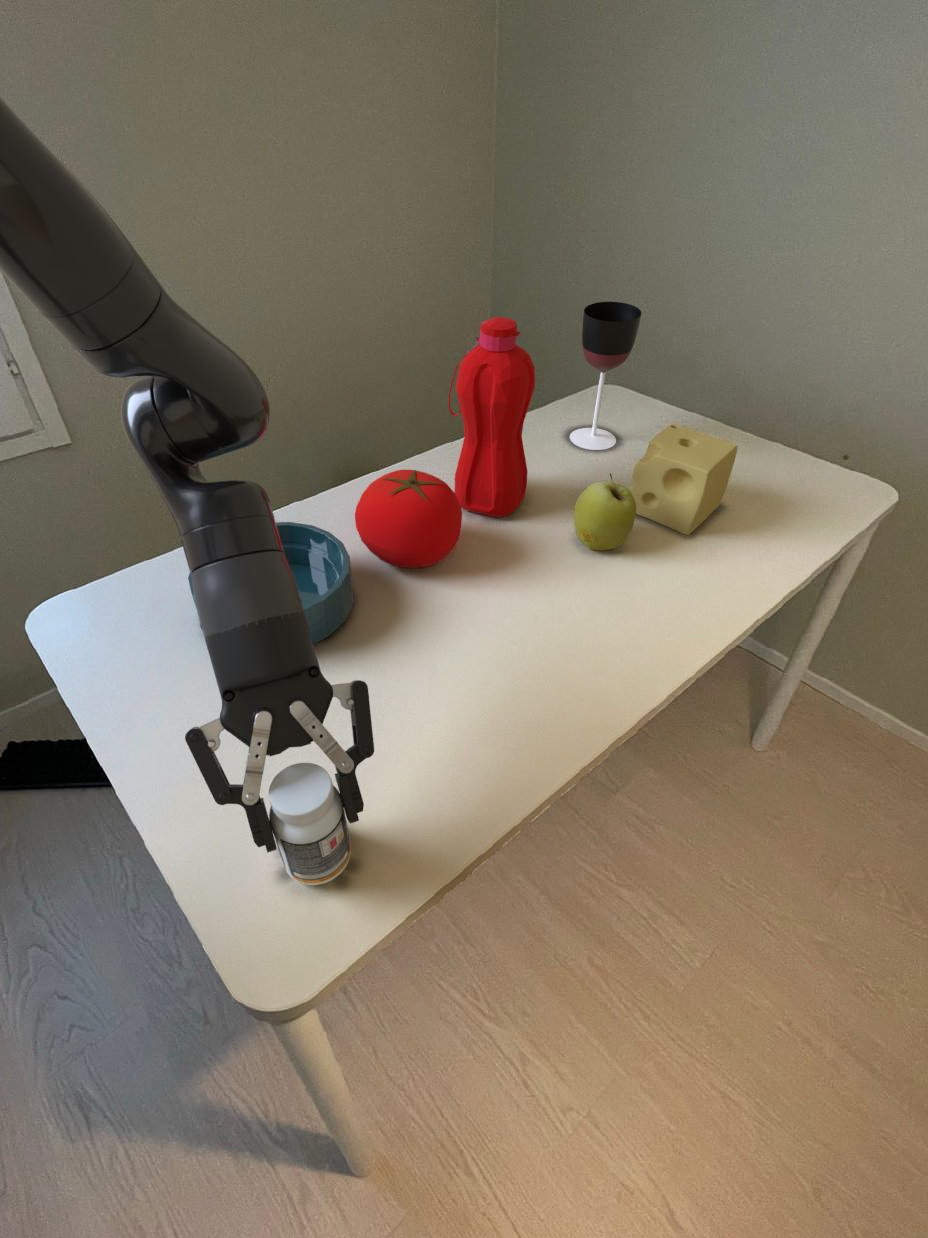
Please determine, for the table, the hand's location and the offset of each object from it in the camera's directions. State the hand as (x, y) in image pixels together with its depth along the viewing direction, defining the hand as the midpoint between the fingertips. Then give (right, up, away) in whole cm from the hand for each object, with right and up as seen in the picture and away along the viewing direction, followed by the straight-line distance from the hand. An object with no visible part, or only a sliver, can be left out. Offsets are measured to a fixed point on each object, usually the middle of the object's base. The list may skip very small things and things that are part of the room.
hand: (313, 833), depth 54 cm
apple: (+30, +26, +40) cm, 56 cm away
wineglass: (+32, +45, +61) cm, 83 cm away
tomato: (+5, +25, +37) cm, 45 cm away
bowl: (-10, +18, +29) cm, 35 cm away
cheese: (+41, +32, +46) cm, 70 cm away
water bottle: (+14, +33, +47) cm, 59 cm away
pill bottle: (-1, -4, +5) cm, 7 cm away
